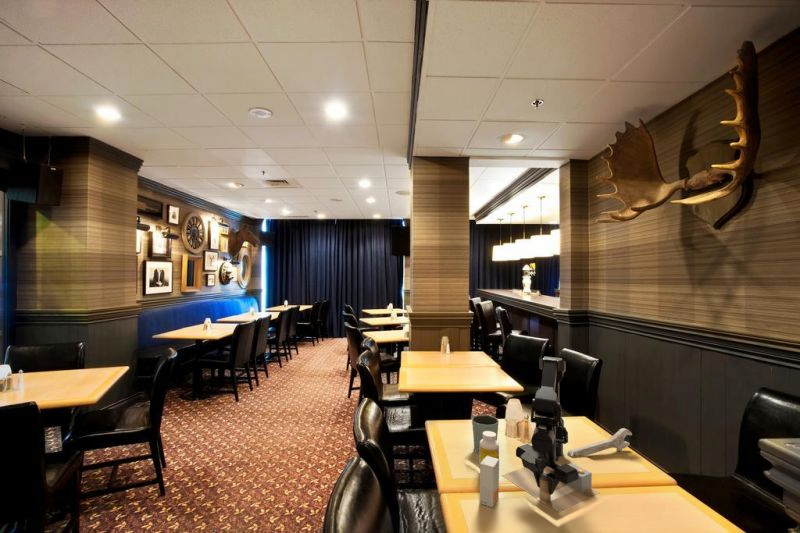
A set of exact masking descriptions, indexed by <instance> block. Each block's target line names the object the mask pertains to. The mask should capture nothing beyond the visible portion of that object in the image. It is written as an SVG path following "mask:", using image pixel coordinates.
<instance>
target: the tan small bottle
mask: <svg viewBox="0 0 800 533" xmlns="http://www.w3.org/2000/svg"><path fill="white" fill-rule="evenodd" d="M546 474H547V473H542V474H541V477H540V489H539V498H540V500H541V501H543V502H550V501H551V495H550V494H549V478H548V477H547V475H546ZM540 500H539V501H540ZM541 501H540V502H541ZM543 502H542V503H543Z"/></svg>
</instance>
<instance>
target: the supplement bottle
mask: <svg viewBox="0 0 800 533" xmlns="http://www.w3.org/2000/svg"><path fill="white" fill-rule="evenodd" d="M486 456H490V457H493V458H497V459H499V460H500V443H499V442H498V440H497V441H496V433H494V432H491V431H484V432H483V439H482V440H481V441H480V452H479V462H478V464H479V467H478V468H479V469H480V463H481V462H482V461H483V459H484V458H485V457H486Z"/></svg>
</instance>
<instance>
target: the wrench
mask: <svg viewBox="0 0 800 533" xmlns="http://www.w3.org/2000/svg"><path fill="white" fill-rule="evenodd" d="M626 436H633V433H632V431H630V430H629V429H627V428H625V427H623V428H620V429H618V430H617V432H615V433H614V434H613V435H612V436H611V437H609V438H607V439H604V440H601V441H597V442H594V443H590V444H587V445H583V446H580V447H576V448H573V449H570V450H568V452H567V456H568V457H570V458H571V457H572V454H573V455H574V456H576V457H577V456H583V457H586V456H590V455H593V454H596V453H600V452H602V451H605V450H608V449H612V448H614V449H616V452H619V451H620V452H622V451H623V449H626V448H628V446H630V442H628V441H625V438H626Z"/></svg>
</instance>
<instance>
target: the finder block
mask: <svg viewBox="0 0 800 533" xmlns="http://www.w3.org/2000/svg"><path fill="white" fill-rule="evenodd" d="M567 464H568V463H567ZM568 465H570V466H572V467H573V468H575V469H577V470H578V473H579V479H578V480H576V481H573V482H571V483H568V484H566V485H568V486H570V487H572V488H573V489H575V490H577V491H579V492H580V493H583V492H585V491H588V490H590V489H592V488H593V487H592V480H593V478H592V476H593V474H592V472H590V471H589V470H587V469H585V468H583V467H581V466H579V465H577V464H575V463H572V462H571V463H569V464H568Z"/></svg>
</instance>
